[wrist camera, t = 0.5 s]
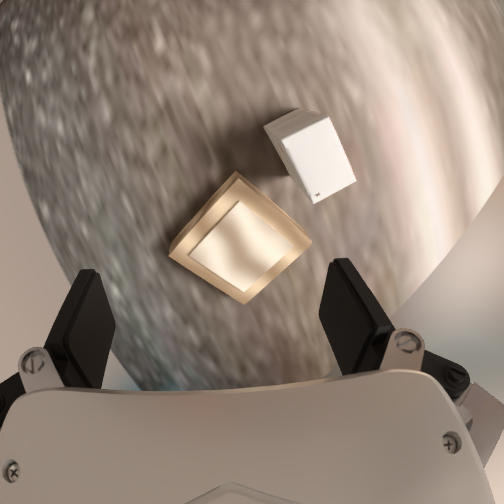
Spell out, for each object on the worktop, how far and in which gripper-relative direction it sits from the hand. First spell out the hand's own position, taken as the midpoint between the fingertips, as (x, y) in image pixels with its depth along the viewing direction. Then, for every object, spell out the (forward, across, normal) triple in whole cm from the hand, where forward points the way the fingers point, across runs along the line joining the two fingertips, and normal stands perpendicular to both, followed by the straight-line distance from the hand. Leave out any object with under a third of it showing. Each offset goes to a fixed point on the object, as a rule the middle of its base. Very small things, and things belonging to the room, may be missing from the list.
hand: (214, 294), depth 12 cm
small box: (+29, -11, 0) cm, 31 cm away
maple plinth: (+29, -4, +13) cm, 32 cm away
